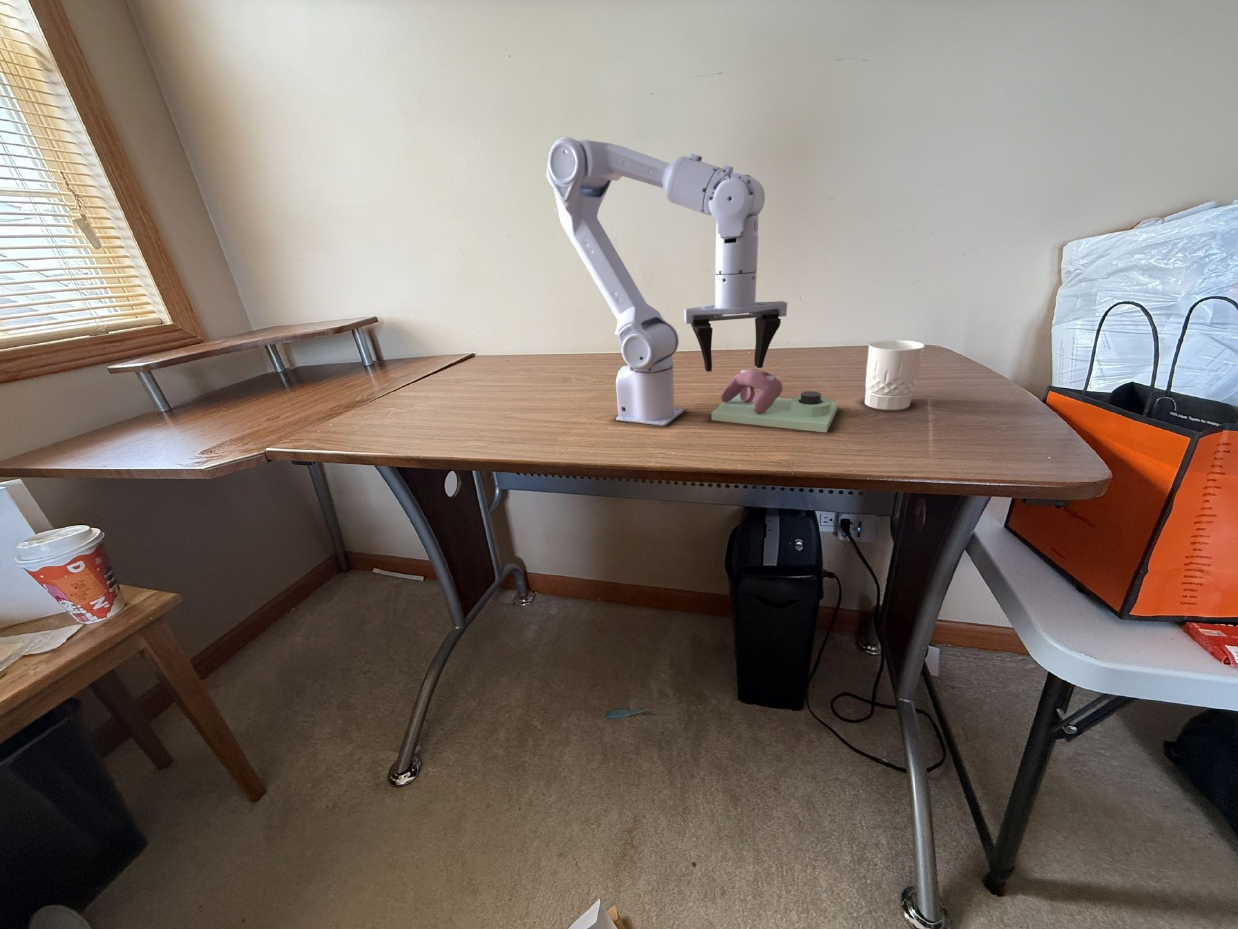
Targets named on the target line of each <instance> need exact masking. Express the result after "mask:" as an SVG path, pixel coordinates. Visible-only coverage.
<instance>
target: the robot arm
mask: <svg viewBox="0 0 1238 929" xmlns="http://www.w3.org/2000/svg"><path fill="white" fill-rule="evenodd" d="M702 160H703V156H702V155H700V154H699V155H698V154H696V153H690V154H689V156H685V155H682V156H679V157H678V158H676V159H675V160H673V161H672V162H671V163H669V162H667V161H664V160H661V159H658V158H655V157H653V156H650V155H647V154H644V153H643V152H640V151H637V150H634V149H631V148H629V147H626V146H622V145H619V144H614V143H612V142H611V143H610V142H604V141H596V140H590V139H580V140H577V139H575V138H573V137H570V136H563V137H559V138H558V139H557V140H555V141H554V143H553V144H552V146H551V147H550V151H549V153H548V159H547V164H546V171H545V172H546V173H545V177H546V179H547V180H548V182H549V184H550V186H551V188H552V189H553V192H554V197H555V201H556V206H557V211H558V217H559V221H560V224H561V227H562V229H563V230H564V232H565V234H566V235H567V237H568V238H569V240H570V242H571V245H572V246H573V247H574V249H575V250H576V252H577V254H578V256H579V257H580V259H581V261H582V262H583V264H584V266H585V267H586V269H587V271H588V273H589V274H590V276H591V277H592V279H593V281H594V283H595V285H596V286H597V288H598V290H599V291H600V293H601V295H602V297H603V298H604V300H605V301H606V304H607V305H608V306H609V309H610V310H611V312H612V313H613V315H614V318H616V320H617V324H616V327H615V337H616V339H617V341H618V343H619V346H620V353H621V356H622V359H623V361H624V362H625V364H626V365H623V366H622V367H621V368H620V369H619V370H618V372H617V374H616V380H615V388H616V389H615V391H616V404H617V415H618V416H616V417H615V418H616V419H615V420H616V421H618V422H619V421H620V422H629V423H636V424H645V425H651V426H661V427H664V426H665V427H666V426H667V425H668V424H669V423H671V422H672V421H673V420H674V419H676V418H677V417H679V416H680V415H681V414H682V413H684V409H683V408H677V407H675V388H674V386H675V383H674V361H673V355H674V354H676V352H677V350H678V347H679V344H680V339H679V338H680V337H679V334H678V332H677V329H676V328H675V326H673V325H672V324H671V323H669V322H668V321H667V320H665V319H664V318H663V316H662V315H661V313H660V312H659V311H658V309H656V308H654V307H652V306H651V305H650V304H648V303H647V302H646V300H645V297H644V296H643V295H642V293H641V291H640V290H639V288H638V286H637V285H636V283H635V281H634V279H633V277H632V276H631V274H630V272H629V270H628V269H627V266H626V265H625V264H624V261H623V260H622V258H621V257H620V255H619V253H618V251H617V249H616V248H615V246H614V244H613V243H612V241H611V239H610V238H609V236H608V233H606V230H605V229H604V227H603V226H602V223H601V222H600V220H599V218H598V213H599V210H600V207H601V205H602V203H603V201H604V199H605V197H606V195H607V192H608V190H609V188H610V186H611V184H612V181H616V182H617V181H619V180H620V179H621V178H622V177H624V178H628V179H631V180H634V181H637V182H641V183H645V184H646V185H647V184H648V185H650V186H654V187H658V188H660V189H663V192H664V193H665V196H666V199H667V200H668V202H670V203H672V204H674V205H678V206H680V207H683V208H686V209H689V210H692V211H694V212H698V213H701V214H703V215H706V216H712V217H713V219H714V220H715V260H714V261H715V263H714V265H715V266H714V267H715V269H714V270H715V271H714V272H715V273H714V305H705V306H697V307H689V308H687V307H686V308H684V309H683V311H684V312H683V314H684V315H683V316H684V318H683V319H684V321H683V322H684V323H685V324H687V325H689V324H690V326H691V328H692V330H693V333H694V335H695V337H696V339H697V342H698V344H699V348H700V350H701V354H702V358H703V364H704V370H705V371H706V372H707V373H710V372H713V361H712V360H713V358H712V343H713V341H712V340H713V331H714V330H713V328H712V324H711V322H718V321H731V320H732V321H733V320H744V319H745V320H746V319H754V326H755V348H754V357H753V358H754V361H753V362H754V366H755V367H756V368H757V369H762V368H764V363H765V360H766V356H767V353H768V350H769V347H770V345H771V343H772V341H773V339H774V337H775V335H776V333H777V331H778V330H779V328H780V326H781V322H782V321H781V320H782V319H781V317H787V312H788V302H787V301H784V300H780V301H779V300H778V301H756V300H757V298H756V296H757V274H758V255H759V253H758V252H759V217H760V216H759V215H760V213H761V212H762V210H763V208H764V204H765V200H766V196H765V190H764V187H763V185H762V184H761V183H760V181H759V180H757V179H756V178H755V177H752V176H751V175H750V174H741V173H733V172H734V167H733V166H730V165H727V164H725V165H724V166H723V167H720V166H717V165H714V164H710V163H707V162H705V161H702Z"/></svg>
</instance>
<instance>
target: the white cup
mask: <svg viewBox="0 0 1238 929" xmlns="http://www.w3.org/2000/svg"><path fill="white" fill-rule="evenodd" d="M925 348H926V345H925V343H922V342H919V341H914V340H906V339H905V340H904V339H886V340H885V339H884V340H877V341H872V342H870V343H869V344H868V348H867V360H866V369H865V370H866V371H865V373H866V375H865V386H864V387H865V397H864V404H865V405H866V406H867V407H870V408H873V409H877V410H884V411H900V410H906V409H907V408H909V407H910V406H911V401H912V397H913V392H914V390H915V389H916V385H917V380H918V376H919V373H920V369H921V364H922V360H923V356H924V351H925Z"/></svg>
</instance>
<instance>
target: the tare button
mask: <svg viewBox="0 0 1238 929" xmlns="http://www.w3.org/2000/svg"><path fill="white" fill-rule="evenodd" d="M800 396H801V400H800V403H802V404H809V405H815V404H820V402H821V397H822V393H821V392H819V391H814V390H813V391H812V390H808V391H807V390H806V391H802V392H801V393H800Z"/></svg>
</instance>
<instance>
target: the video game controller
mask: <svg viewBox="0 0 1238 929" xmlns="http://www.w3.org/2000/svg"><path fill="white" fill-rule="evenodd" d="M755 389H758V390H759V391H757V392H756V393H755ZM782 392H783V383H782V382H781V381H780V379H777V377H775V376H774V375H773V374H772V373H769V372H767V371H764V370H760V369H755V368H753V369H750V370H749V369H747V370H745V369H741V370H740V372H738V373H737V374H735V375H734V377H733V378H732V380H731V381H730V382H729V383H728V384H727V385H726V386H725V388H723V390H722V391H721V394H720V401H721V402H722V403H723V402H728V401H730V400H732V399H733V398H734V397H736V396H737V395H740V398H741V400H742V401H744V402H747V403H749V402H751V401H752V400H753V403H754V404H755V412H756V413H757V414H761V413H763V412H765V411H766V410H768V409H769V408H770V407H771V405H772V404H773V403H774V401H775V400H776V398H779V397H780V396H781V394H782Z"/></svg>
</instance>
